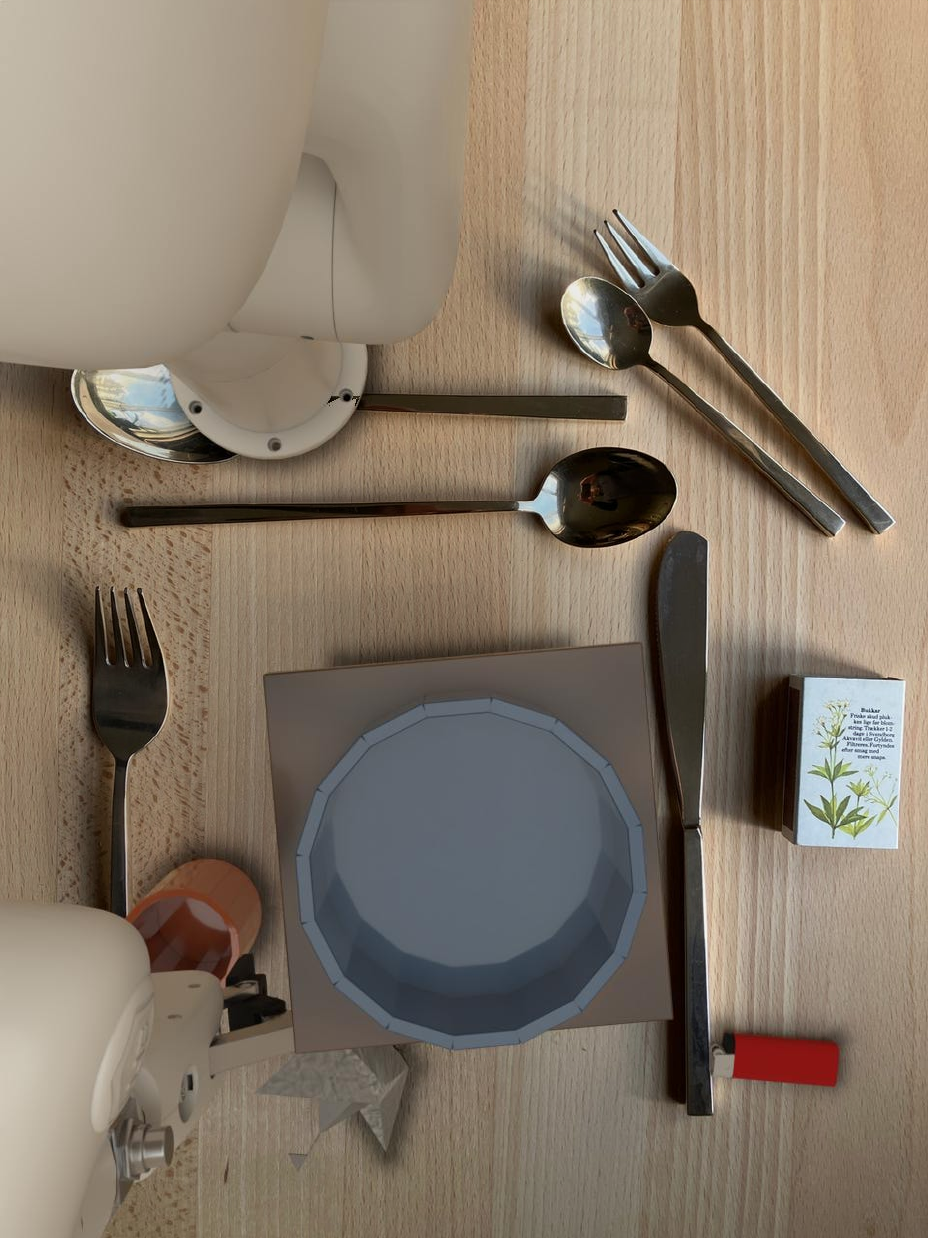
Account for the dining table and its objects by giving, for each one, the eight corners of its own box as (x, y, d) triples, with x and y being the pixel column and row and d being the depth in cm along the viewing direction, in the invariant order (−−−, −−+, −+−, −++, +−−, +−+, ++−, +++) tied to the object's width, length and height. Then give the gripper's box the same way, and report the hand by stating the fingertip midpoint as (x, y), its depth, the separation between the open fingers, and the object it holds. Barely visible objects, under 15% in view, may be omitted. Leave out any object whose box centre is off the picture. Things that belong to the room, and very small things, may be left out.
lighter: (835, 1091, 67) (711, 1080, 67) (828, 1082, 69) (706, 1071, 68) (840, 1047, 67) (716, 1036, 67) (832, 1039, 69) (710, 1028, 68)
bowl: (298, 704, 44) (282, 714, 40) (612, 677, 44) (631, 684, 40) (325, 1018, 44) (311, 1064, 40) (638, 990, 44) (660, 1032, 40)
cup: (148, 863, 68) (112, 894, 60) (257, 854, 68) (234, 883, 60) (157, 971, 68) (122, 1015, 60) (266, 961, 68) (244, 1004, 60)
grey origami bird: (468, 1087, 67) (391, 1227, 65) (411, 1043, 72) (338, 1172, 70) (339, 1017, 61) (248, 1171, 58) (287, 976, 66) (201, 1115, 63)
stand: (326, 653, 68) (262, 674, 44) (572, 632, 68) (642, 642, 44) (347, 900, 68) (294, 1055, 44) (593, 878, 68) (673, 1020, 44)
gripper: (260, 1024, 38) (317, 903, 55) (-226, 1072, 37) (-17, 935, 55) (278, 1234, 38) (329, 1047, 55) (-209, 1284, 37) (-5, 1080, 55)
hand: (157, 991), depth 55 cm, fingers open, 9 cm apart
